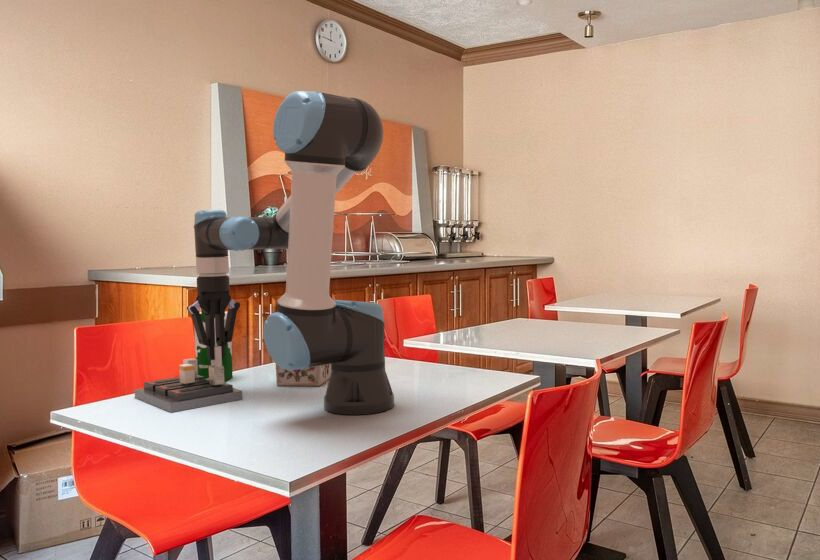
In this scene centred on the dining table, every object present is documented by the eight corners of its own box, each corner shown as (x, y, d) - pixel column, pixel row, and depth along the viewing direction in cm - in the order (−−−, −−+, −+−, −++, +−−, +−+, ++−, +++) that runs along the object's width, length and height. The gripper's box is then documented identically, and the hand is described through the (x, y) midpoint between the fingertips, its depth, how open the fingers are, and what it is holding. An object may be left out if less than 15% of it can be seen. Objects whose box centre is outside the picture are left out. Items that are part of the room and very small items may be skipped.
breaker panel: (242, 399, 161) (241, 365, 161) (171, 412, 150) (169, 376, 149) (202, 386, 177) (201, 355, 176) (134, 397, 166) (133, 364, 165)
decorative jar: (320, 387, 173) (317, 314, 172) (275, 386, 175) (272, 315, 174) (333, 377, 185) (331, 309, 184) (290, 377, 186) (288, 310, 185)
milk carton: (192, 383, 181) (189, 307, 179) (206, 376, 190) (203, 303, 188) (225, 383, 180) (222, 306, 178) (237, 376, 189) (234, 303, 187)
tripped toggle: (195, 382, 163) (194, 365, 163) (184, 383, 161) (184, 366, 161) (189, 380, 165) (189, 363, 165) (179, 382, 163) (178, 365, 163)
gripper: (230, 273, 174) (234, 367, 175) (179, 276, 165) (184, 374, 167) (245, 274, 168) (248, 370, 170) (193, 277, 160) (198, 378, 161)
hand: (216, 372), depth 168 cm, fingers closed
